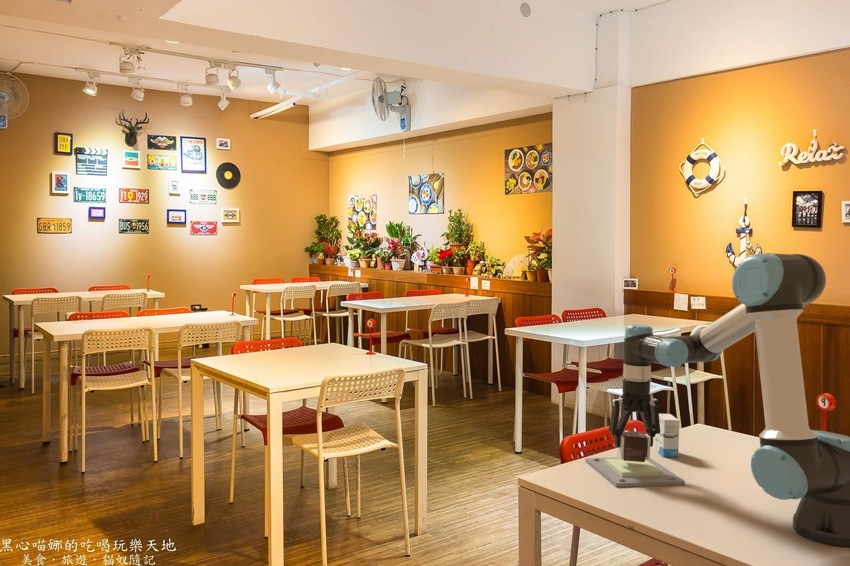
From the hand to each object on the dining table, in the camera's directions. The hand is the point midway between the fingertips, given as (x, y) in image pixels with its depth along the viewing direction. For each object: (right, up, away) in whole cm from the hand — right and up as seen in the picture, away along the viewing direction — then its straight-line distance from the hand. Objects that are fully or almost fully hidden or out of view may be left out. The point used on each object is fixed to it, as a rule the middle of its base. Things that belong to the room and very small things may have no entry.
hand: (633, 457), depth 203 cm
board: (0, -4, 0) cm, 4 cm away
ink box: (+16, -4, +20) cm, 26 cm away
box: (0, -1, 0) cm, 1 cm away
